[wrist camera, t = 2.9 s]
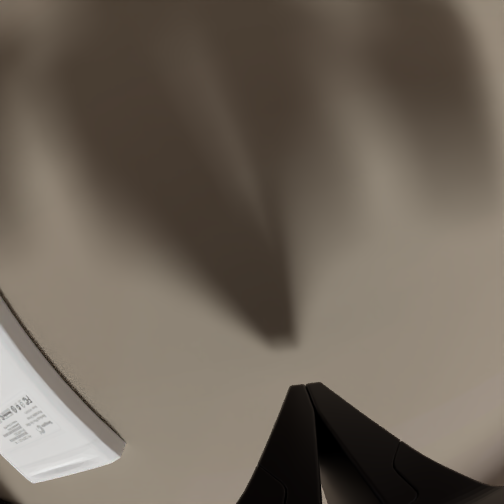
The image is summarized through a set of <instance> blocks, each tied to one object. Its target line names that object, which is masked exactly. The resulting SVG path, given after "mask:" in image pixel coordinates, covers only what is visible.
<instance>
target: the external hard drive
mask: <svg viewBox="0 0 504 504" xmlns="http://www.w3.org/2000/svg"><path fill="white" fill-rule="evenodd" d="M125 444H126V442H125V441H124V440H123V439H121V438H120V437H119V436H118V435H117V434H116V433H115V432H114V431H113V430H112V429H111V428H110V427H108V426H107V425H106V424H105V423H104V422H103V421H102V420H101V419H100V418H99V417H98V416H97V415H96V414H95V413H94V412H93V411H92V410H91V409H90V408H89V407H88V406H87V405H86V404H85V403H84V402H83V401H82V400H81V399H80V398H79V396H78V395H77V394H76V393H75V392H74V391H73V390H72V389H71V388H70V387H69V385H68V384H67V383H66V382H65V381H64V380H63V379H62V378H61V376H60V375H59V374H58V373H57V372H56V371H55V369H54V368H53V367H52V366H51V364H50V363H49V362H48V361H47V360H46V358H45V357H44V356H43V355H42V353H41V352H40V351H39V349H38V348H37V347H36V346H35V344H34V343H33V342H32V340H31V339H30V338H29V336H28V335H27V334H26V332H25V331H24V329H23V328H22V327H21V325H20V324H19V322H18V321H17V319H16V318H15V316H14V315H13V314H12V312H11V311H10V309H9V308H8V306H7V305H6V303H5V302H4V300H3V298H2V297H1V295H0V454H1V455H2V456H3V457H4V458H5V459H6V460H7V461H8V462H9V463H10V464H11V465H12V466H13V467H14V468H15V469H16V470H17V471H19V472H20V473H21V474H22V475H23V476H24V477H25V478H27V479H28V480H29V481H30V482H31V483H38V482H43V481H46V480H51V479H55V478H59V477H63V476H67V475H71V474H75V473H79V472H82V471H86V470H89V469H93V468H97V467H100V466H103V465H107V464H110V463H112V462H114V461H116V460H117V459H119V458H120V457H121V455H122V452H123V450H124V447H125Z"/></svg>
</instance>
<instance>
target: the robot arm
mask: <svg viewBox="0 0 504 504" xmlns="http://www.w3.org/2000/svg"><path fill="white" fill-rule="evenodd" d="M321 484H322V488H323V491H324V494H325V497H326V500H327V503H328V504H504V486H491V485H487V484H484V483H481V482H478V481H476V480H474V479H471V478H469V477H467V476H465V475H462V474H460V473H458V472H456V471H454V470H452V469H449V468H447V467H445V466H443V465H441V464H439V463H437V462H435V461H433V460H432V459H430V458H428V457H426V456H424V455H423V454H421V453H419V452H418V451H416V450H415V449H413V448H412V447H410V446H409V445H407V444H406V443H404V442H403V441H401V442H400V439H398V438H397V437H395V436H394V435H392V434H391V433H389V432H388V431H387V430H385V429H384V428H382V427H381V426H379V425H378V424H377V423H375V422H374V421H372V420H371V419H370V418H368V417H367V416H365V415H364V414H363V413H361V412H360V411H359V410H357V409H356V408H354V407H353V406H352V405H350V404H349V403H348V402H346V401H345V400H344V399H342V398H341V397H340V396H338V395H337V394H336V393H334V392H333V391H332V390H330V389H329V388H328V387H326V386H325V385H324V384H322V383H321V382H316V383H308V384H306V386H305V385H304V384H300V385H292V386H290V387H289V389H288V392H287V395H286V397H285V400H284V402H283V405H282V407H281V410H280V412H279V415H278V417H277V420H276V422H275V425H274V427H273V429H272V432H271V434H270V437H269V439H268V441H267V444H266V446H265V448H264V451H263V453H262V455H261V458H260V460H259V462H258V464H257V467H256V468H255V471H254V473H253V475H252V477H251V479H250V481H249V483H248V485H247V487H246V489H245V491H244V492H243V494H242V495H241V497H240V499H239V500H238V502H237V503H236V504H322V493H321ZM0 504H7V503H5V502H3V501H1V500H0Z"/></svg>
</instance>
